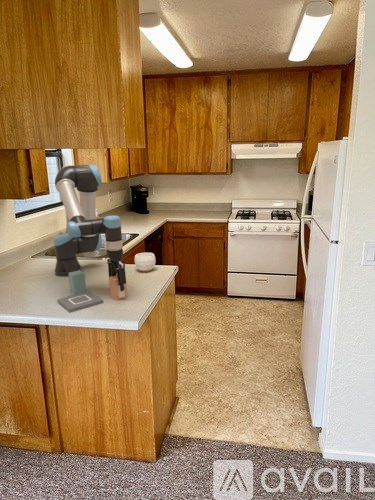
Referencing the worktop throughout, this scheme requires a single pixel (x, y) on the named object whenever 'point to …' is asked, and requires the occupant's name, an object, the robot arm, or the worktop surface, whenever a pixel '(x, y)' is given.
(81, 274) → the teal block
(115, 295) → the terracotta block
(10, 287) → the worktop surface
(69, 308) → the base plate
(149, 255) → the cup
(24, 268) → the worktop surface
